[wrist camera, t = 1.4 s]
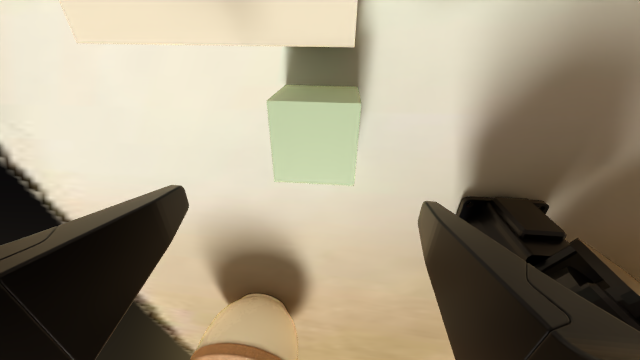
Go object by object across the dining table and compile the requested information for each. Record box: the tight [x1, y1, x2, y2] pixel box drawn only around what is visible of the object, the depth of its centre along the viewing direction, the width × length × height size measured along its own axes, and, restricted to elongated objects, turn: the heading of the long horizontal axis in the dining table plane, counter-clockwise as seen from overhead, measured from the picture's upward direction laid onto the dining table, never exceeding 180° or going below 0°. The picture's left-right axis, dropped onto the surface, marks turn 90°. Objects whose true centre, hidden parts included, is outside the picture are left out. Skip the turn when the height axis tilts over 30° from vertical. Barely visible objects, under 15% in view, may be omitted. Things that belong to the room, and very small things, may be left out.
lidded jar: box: [190, 293, 298, 360], centre depth 27 cm, size 11×11×9 cm
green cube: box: [267, 85, 361, 186], centre depth 17 cm, size 5×5×5 cm
